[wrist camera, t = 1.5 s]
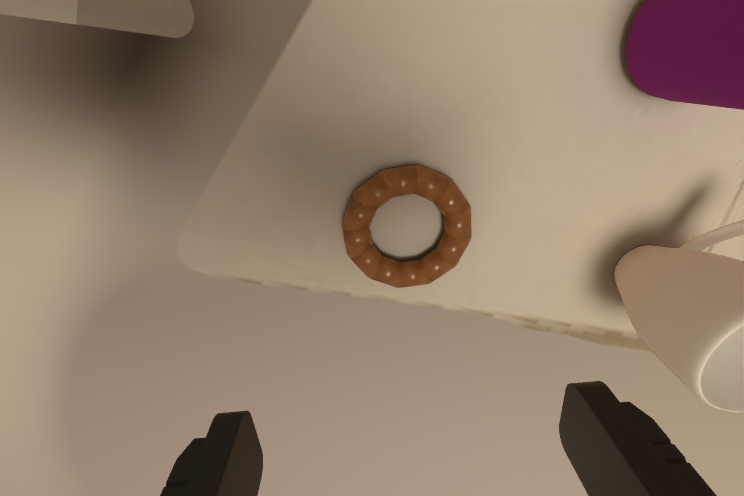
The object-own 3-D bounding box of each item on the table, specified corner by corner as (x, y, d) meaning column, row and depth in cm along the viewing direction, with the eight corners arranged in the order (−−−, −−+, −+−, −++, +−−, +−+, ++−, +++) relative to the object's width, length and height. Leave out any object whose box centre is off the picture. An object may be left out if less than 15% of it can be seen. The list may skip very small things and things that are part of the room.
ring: (326, 256, 31) (324, 268, 29) (372, 143, 27) (373, 148, 25) (433, 292, 33) (438, 306, 31) (489, 191, 29) (498, 200, 27)
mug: (645, 320, 35) (766, 428, 25) (569, 291, 33) (666, 394, 23) (746, 203, 30) (947, 275, 20) (664, 163, 29) (838, 219, 18)
